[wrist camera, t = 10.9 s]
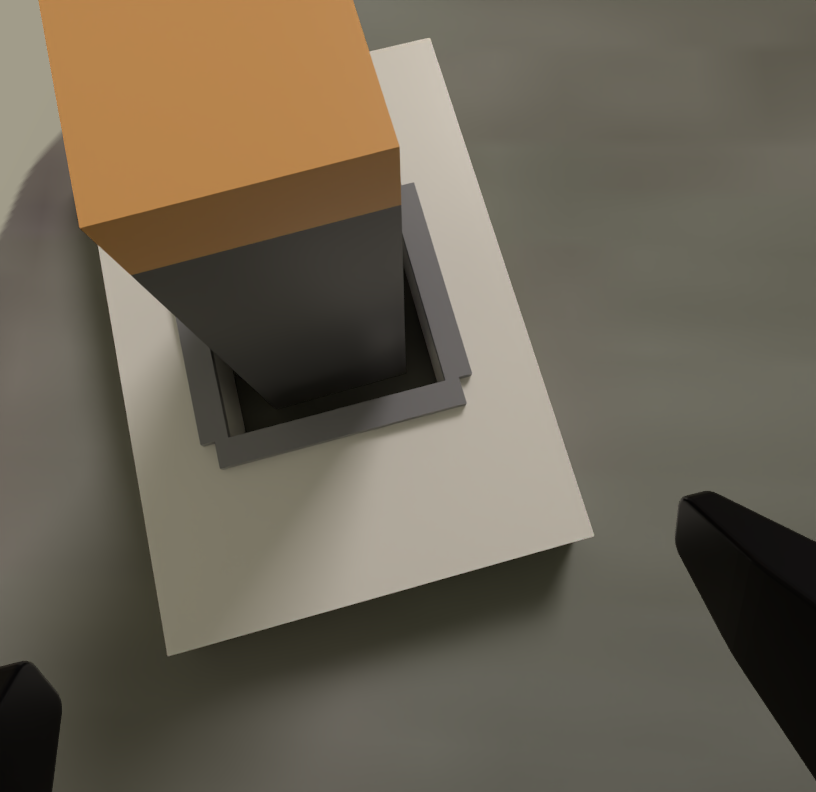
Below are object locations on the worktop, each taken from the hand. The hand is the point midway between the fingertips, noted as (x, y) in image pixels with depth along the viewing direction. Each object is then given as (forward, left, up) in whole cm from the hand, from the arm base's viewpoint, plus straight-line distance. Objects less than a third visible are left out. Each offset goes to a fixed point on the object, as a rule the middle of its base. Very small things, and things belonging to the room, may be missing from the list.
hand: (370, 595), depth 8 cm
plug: (+8, +1, -11) cm, 13 cm away
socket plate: (+8, +1, -11) cm, 13 cm away
